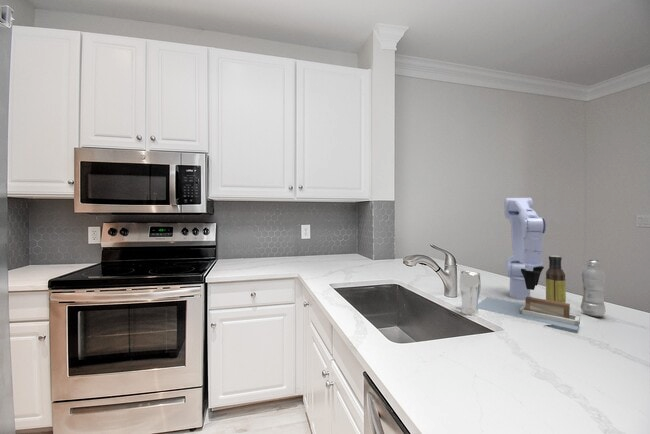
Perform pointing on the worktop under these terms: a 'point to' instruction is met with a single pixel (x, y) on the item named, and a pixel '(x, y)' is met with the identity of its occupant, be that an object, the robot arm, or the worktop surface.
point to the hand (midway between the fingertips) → (532, 287)
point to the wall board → (530, 314)
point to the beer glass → (470, 291)
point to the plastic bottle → (593, 289)
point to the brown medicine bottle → (555, 280)
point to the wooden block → (548, 307)
